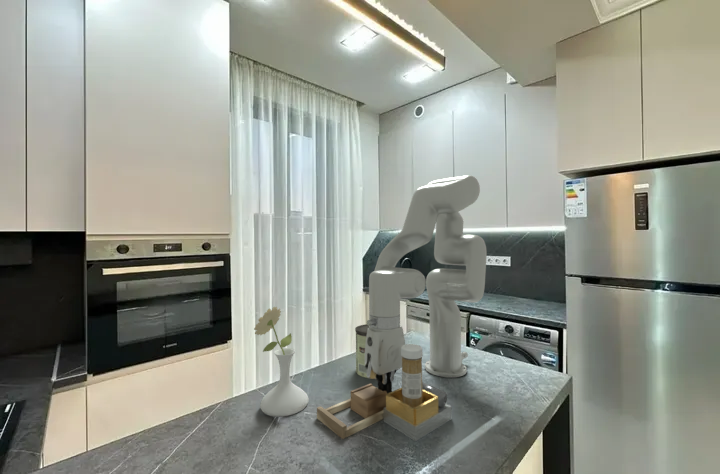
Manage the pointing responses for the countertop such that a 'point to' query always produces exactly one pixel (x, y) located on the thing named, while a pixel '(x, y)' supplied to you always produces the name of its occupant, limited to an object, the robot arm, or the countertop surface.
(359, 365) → the coffee can
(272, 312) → the flower in vase
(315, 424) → the countertop surface
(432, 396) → the gold open box
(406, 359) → the sprinkles bottle
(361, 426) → the tray
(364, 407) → the tan cardboard box
